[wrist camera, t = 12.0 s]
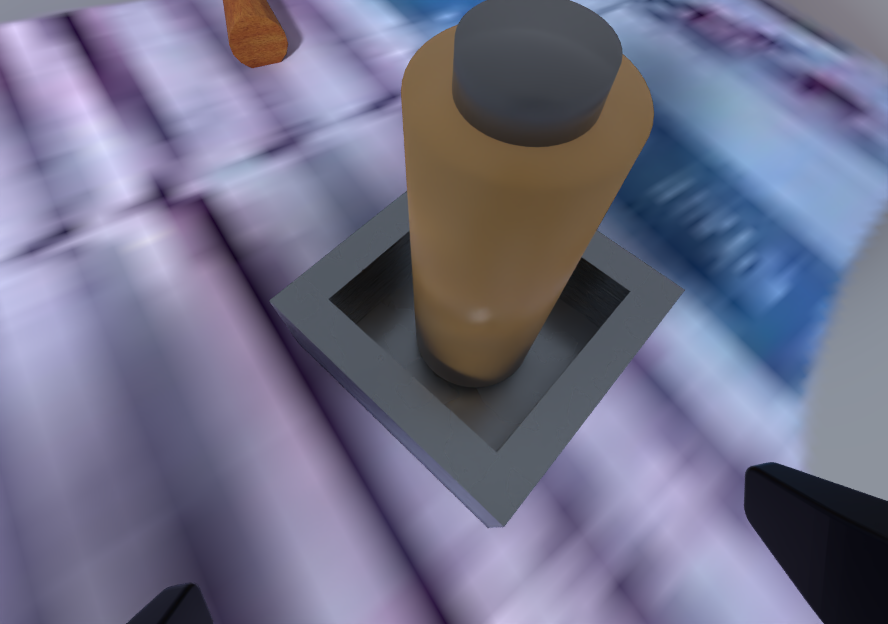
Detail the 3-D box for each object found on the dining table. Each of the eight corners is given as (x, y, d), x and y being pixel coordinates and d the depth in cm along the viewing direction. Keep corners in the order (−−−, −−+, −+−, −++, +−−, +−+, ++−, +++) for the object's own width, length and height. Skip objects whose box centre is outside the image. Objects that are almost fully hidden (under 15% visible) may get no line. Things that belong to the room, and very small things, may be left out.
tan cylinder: (552, 330, 20) (729, 42, 8) (479, 412, 18) (572, 197, 6) (467, 264, 21) (515, -63, 10) (392, 334, 19) (338, 42, 8)
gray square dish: (640, 331, 21) (685, 289, 17) (487, 527, 17) (504, 527, 13) (461, 201, 24) (467, 142, 20) (297, 342, 20) (269, 300, 16)
